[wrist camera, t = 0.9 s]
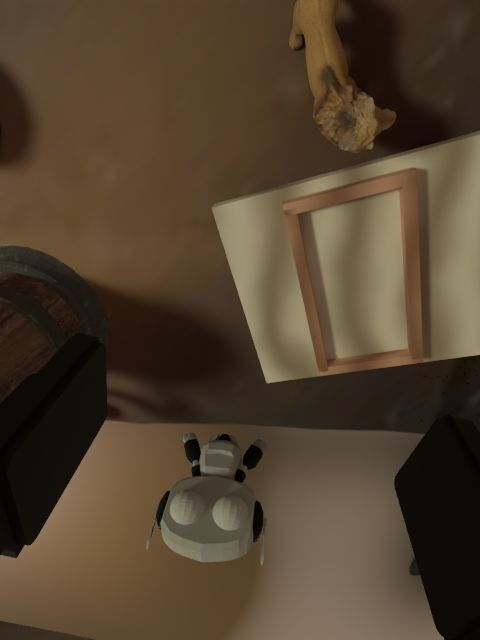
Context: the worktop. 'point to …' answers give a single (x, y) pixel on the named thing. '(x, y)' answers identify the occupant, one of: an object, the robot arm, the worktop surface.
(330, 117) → the lion figurine
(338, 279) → the base plate
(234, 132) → the worktop surface
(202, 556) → the robot toy
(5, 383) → the tankard
